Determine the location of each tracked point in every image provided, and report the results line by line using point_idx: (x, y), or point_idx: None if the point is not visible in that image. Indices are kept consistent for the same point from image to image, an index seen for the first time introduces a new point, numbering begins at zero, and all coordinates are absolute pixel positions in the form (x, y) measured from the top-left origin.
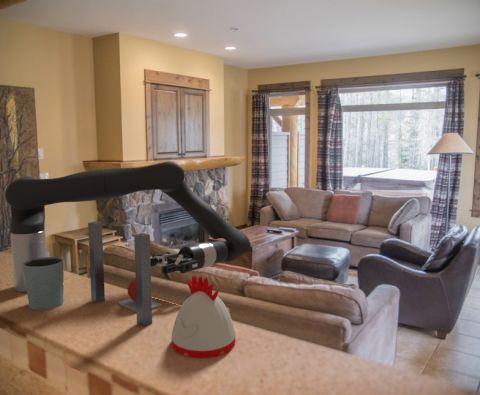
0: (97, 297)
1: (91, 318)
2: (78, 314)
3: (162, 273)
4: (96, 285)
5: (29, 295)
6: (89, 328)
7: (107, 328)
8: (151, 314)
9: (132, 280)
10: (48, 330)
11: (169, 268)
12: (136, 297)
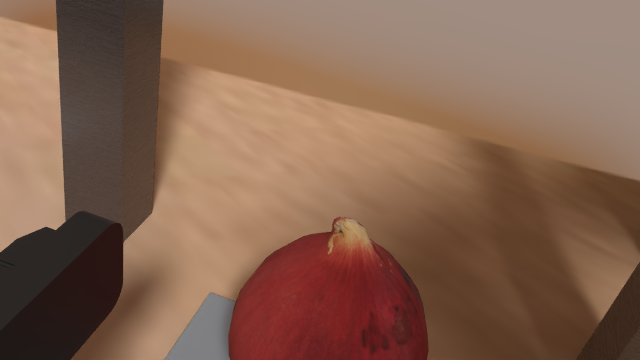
0: (591, 347)
1: (402, 220)
2: (493, 239)
3: (117, 299)
4: (631, 281)
5: None
6: (327, 161)
7: (258, 168)
8: (65, 179)
9: (391, 255)
10: (442, 140)
11: (1, 262)
12: (155, 80)
